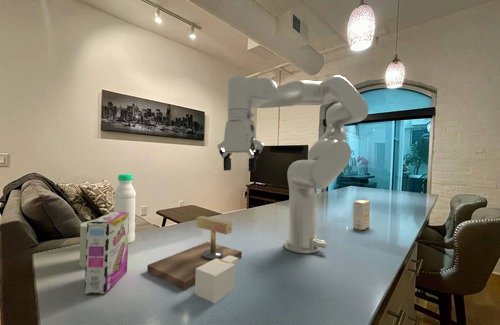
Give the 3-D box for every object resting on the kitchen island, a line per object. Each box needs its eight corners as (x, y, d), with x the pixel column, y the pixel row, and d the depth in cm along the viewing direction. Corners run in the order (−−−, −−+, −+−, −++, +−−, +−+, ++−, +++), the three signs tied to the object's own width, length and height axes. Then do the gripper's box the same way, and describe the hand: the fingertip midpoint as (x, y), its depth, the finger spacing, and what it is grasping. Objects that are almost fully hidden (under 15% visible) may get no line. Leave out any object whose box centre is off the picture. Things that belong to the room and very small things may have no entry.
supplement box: (359, 225, 115) (360, 199, 115) (369, 228, 111) (370, 200, 111) (352, 228, 109) (353, 201, 109) (362, 231, 106) (363, 202, 106)
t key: (191, 254, 70) (192, 218, 70) (205, 248, 75) (206, 214, 75) (221, 264, 64) (222, 225, 64) (234, 257, 69) (235, 220, 69)
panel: (241, 257, 73) (241, 251, 73) (184, 290, 54) (184, 282, 54) (207, 247, 82) (207, 241, 82) (147, 272, 63) (147, 265, 63)
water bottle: (125, 246, 81) (127, 175, 81) (108, 244, 83) (109, 174, 82) (139, 239, 88) (140, 174, 88) (123, 238, 89) (124, 173, 89)
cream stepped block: (242, 283, 59) (243, 259, 58) (214, 303, 50) (215, 276, 50) (224, 276, 62) (224, 253, 62) (195, 294, 53) (195, 268, 53)
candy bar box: (107, 295, 52) (108, 222, 52) (83, 295, 51) (85, 222, 51) (128, 271, 63) (130, 211, 63) (109, 271, 63) (110, 211, 63)
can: (93, 270, 63) (94, 226, 63) (71, 264, 66) (72, 223, 66) (123, 257, 72) (123, 219, 72) (101, 253, 75) (102, 216, 75)
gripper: (269, 116, 72) (268, 171, 72) (225, 121, 81) (225, 169, 82) (257, 112, 66) (256, 172, 66) (211, 117, 75) (211, 170, 75)
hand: (239, 170), depth 74 cm, fingers open, 9 cm apart
